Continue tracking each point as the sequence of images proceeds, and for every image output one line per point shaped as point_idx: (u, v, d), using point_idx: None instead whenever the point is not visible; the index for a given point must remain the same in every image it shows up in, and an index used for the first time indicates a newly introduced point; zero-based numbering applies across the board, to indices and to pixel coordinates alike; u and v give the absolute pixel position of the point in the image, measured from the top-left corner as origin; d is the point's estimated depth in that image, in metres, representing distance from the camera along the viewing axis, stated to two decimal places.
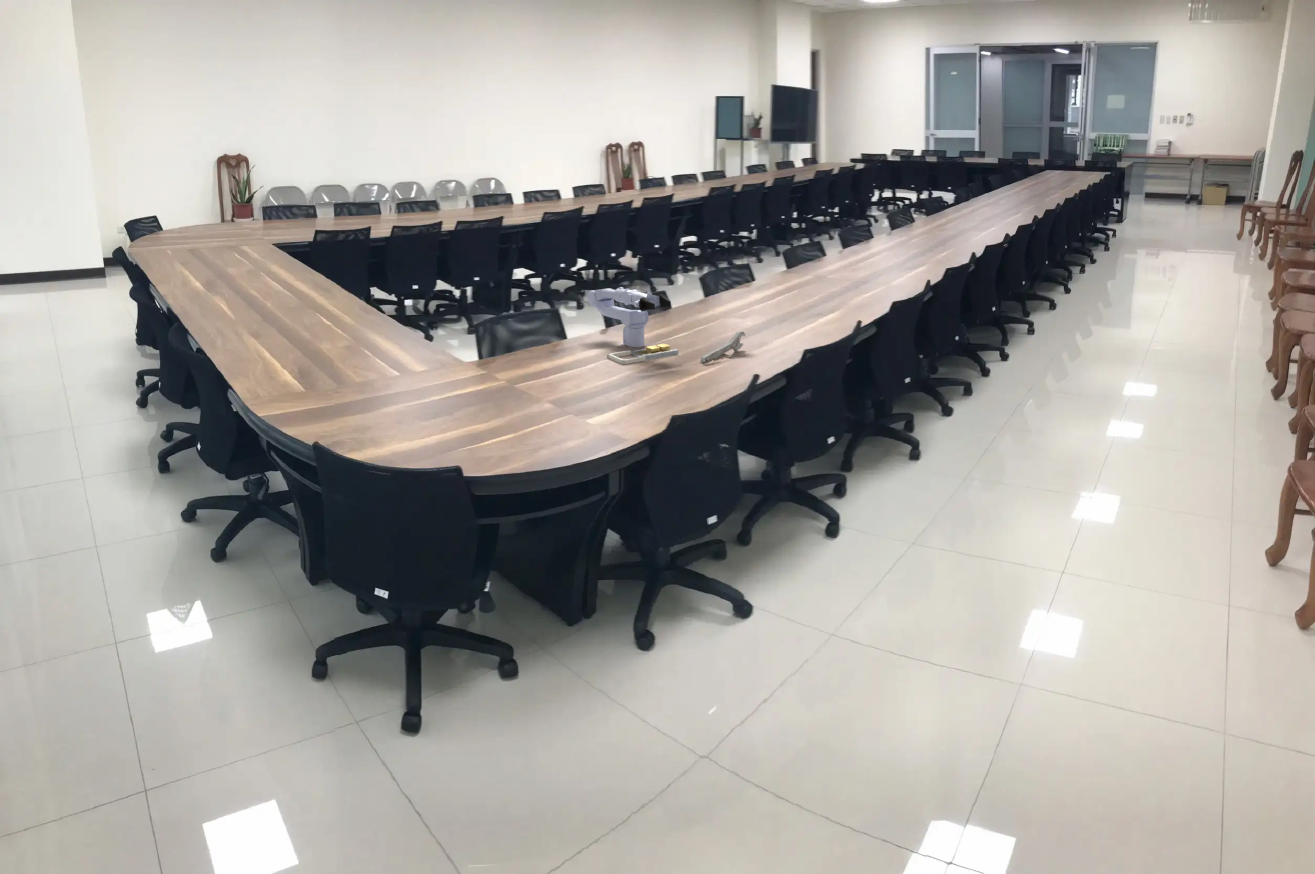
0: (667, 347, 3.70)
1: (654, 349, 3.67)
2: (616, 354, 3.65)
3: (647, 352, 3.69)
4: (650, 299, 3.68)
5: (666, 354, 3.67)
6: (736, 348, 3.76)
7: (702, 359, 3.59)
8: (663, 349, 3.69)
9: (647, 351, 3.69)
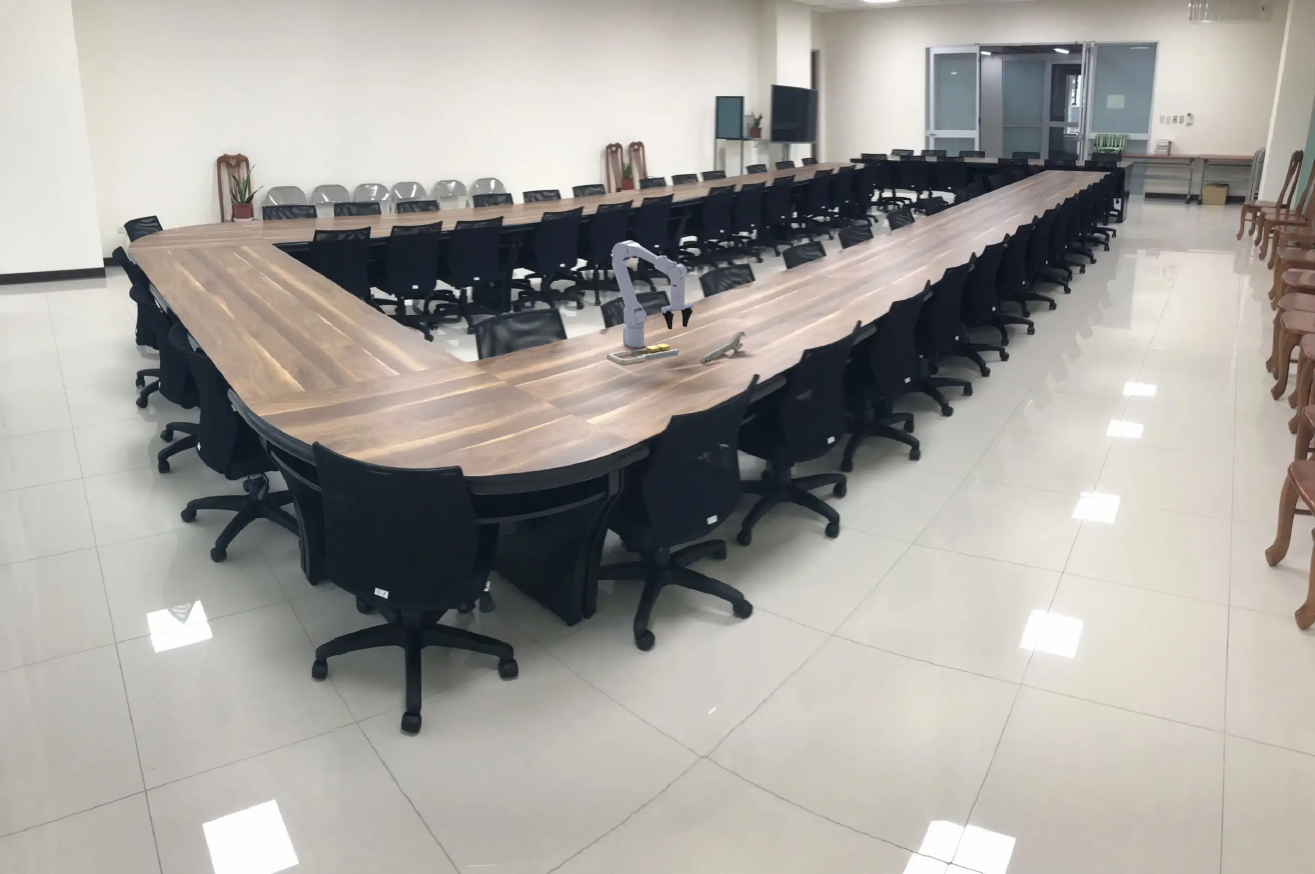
0: (667, 347, 3.70)
1: (654, 349, 3.67)
2: (616, 354, 3.65)
3: (647, 352, 3.69)
4: None
5: (666, 354, 3.67)
6: (736, 348, 3.76)
7: (702, 359, 3.59)
8: (663, 349, 3.69)
9: (647, 351, 3.69)
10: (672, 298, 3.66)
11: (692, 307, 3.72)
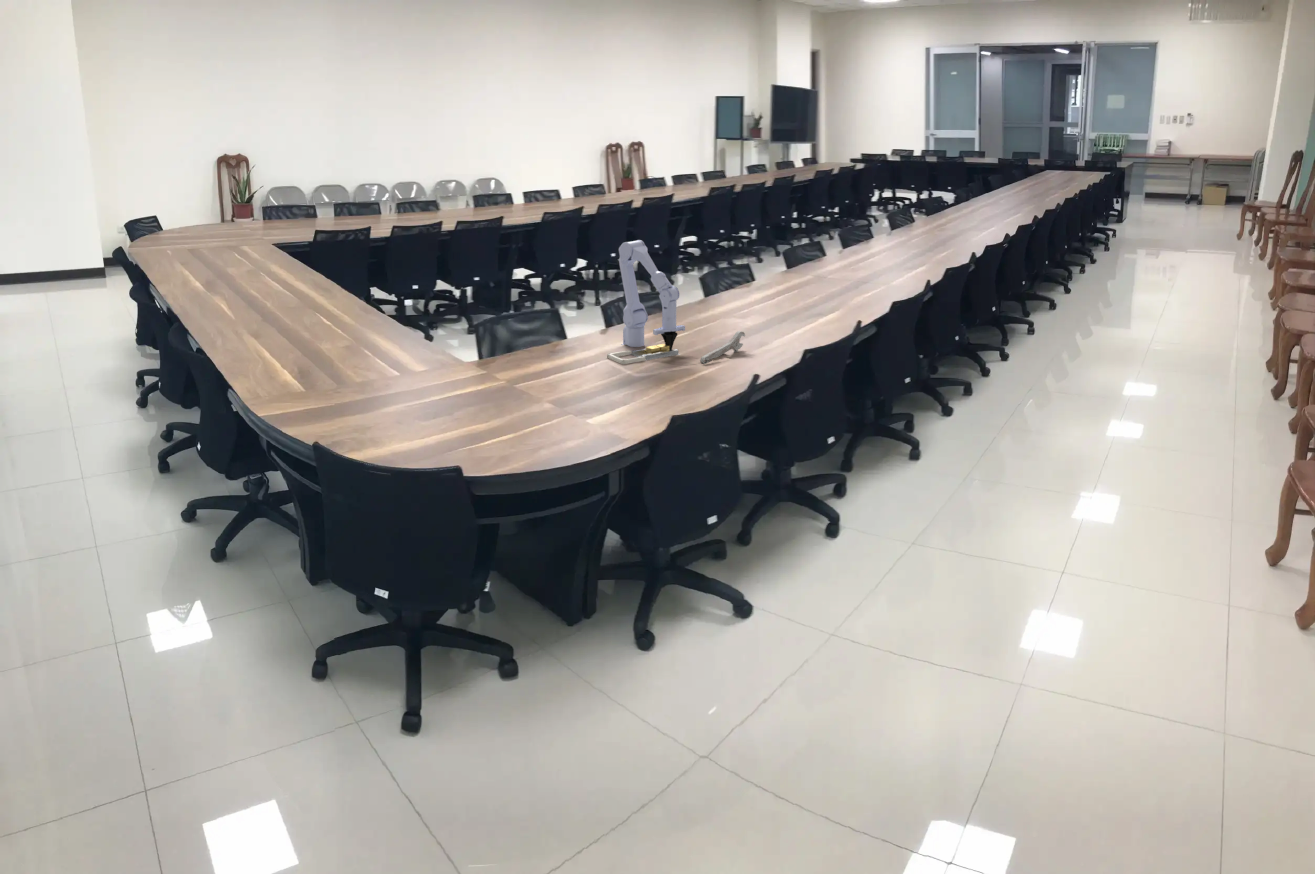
0: (666, 347, 3.70)
1: (654, 349, 3.67)
2: (616, 354, 3.65)
3: (647, 352, 3.69)
4: None
5: (666, 354, 3.67)
6: (736, 348, 3.76)
7: (702, 359, 3.59)
8: (662, 349, 3.69)
9: (647, 351, 3.69)
10: (664, 320, 3.67)
11: (684, 329, 3.73)
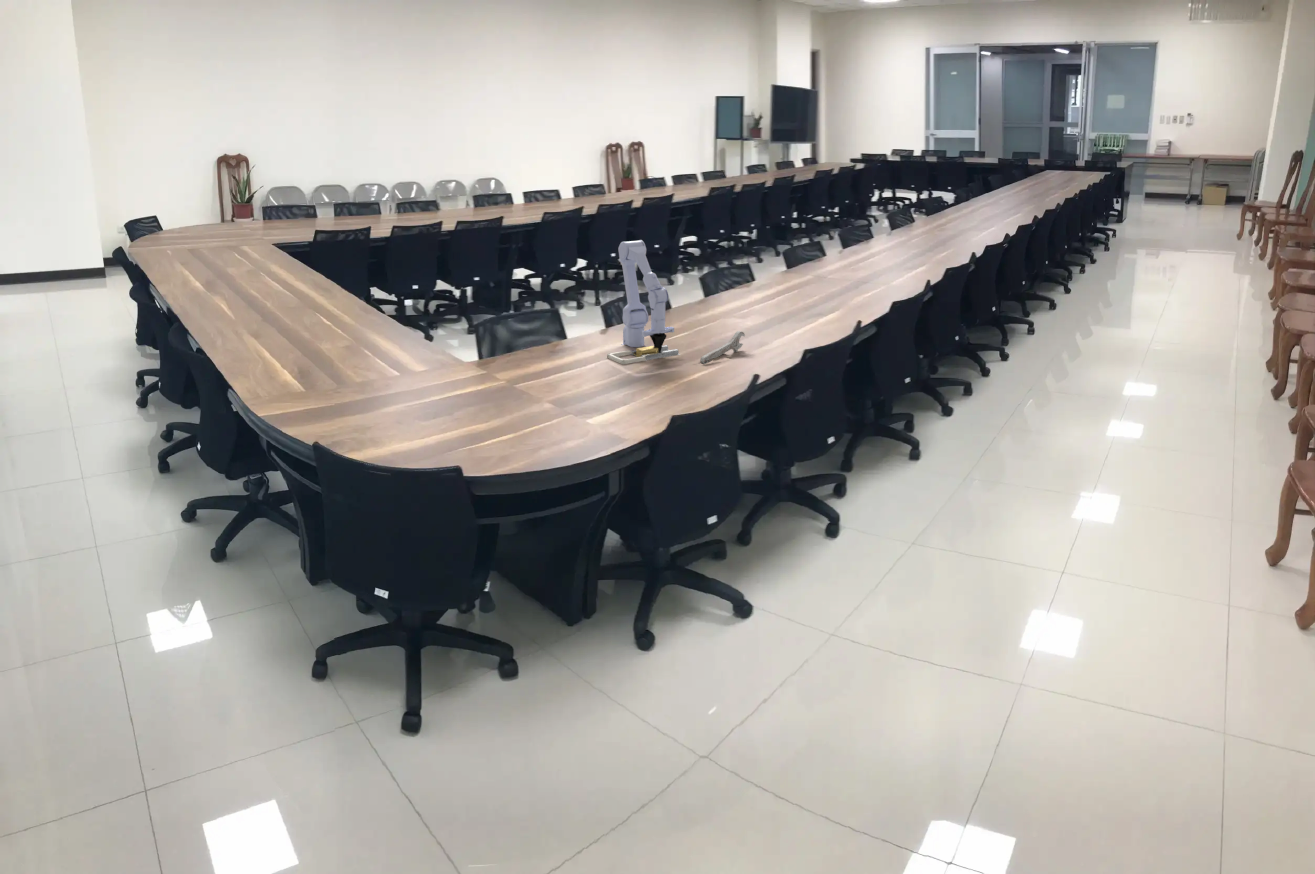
0: (655, 349, 3.67)
1: (644, 351, 3.64)
2: (616, 354, 3.65)
3: (637, 354, 3.66)
4: None
5: (666, 354, 3.67)
6: (736, 348, 3.76)
7: (702, 359, 3.59)
8: (651, 351, 3.66)
9: (637, 353, 3.66)
10: (652, 322, 3.64)
11: (673, 331, 3.70)
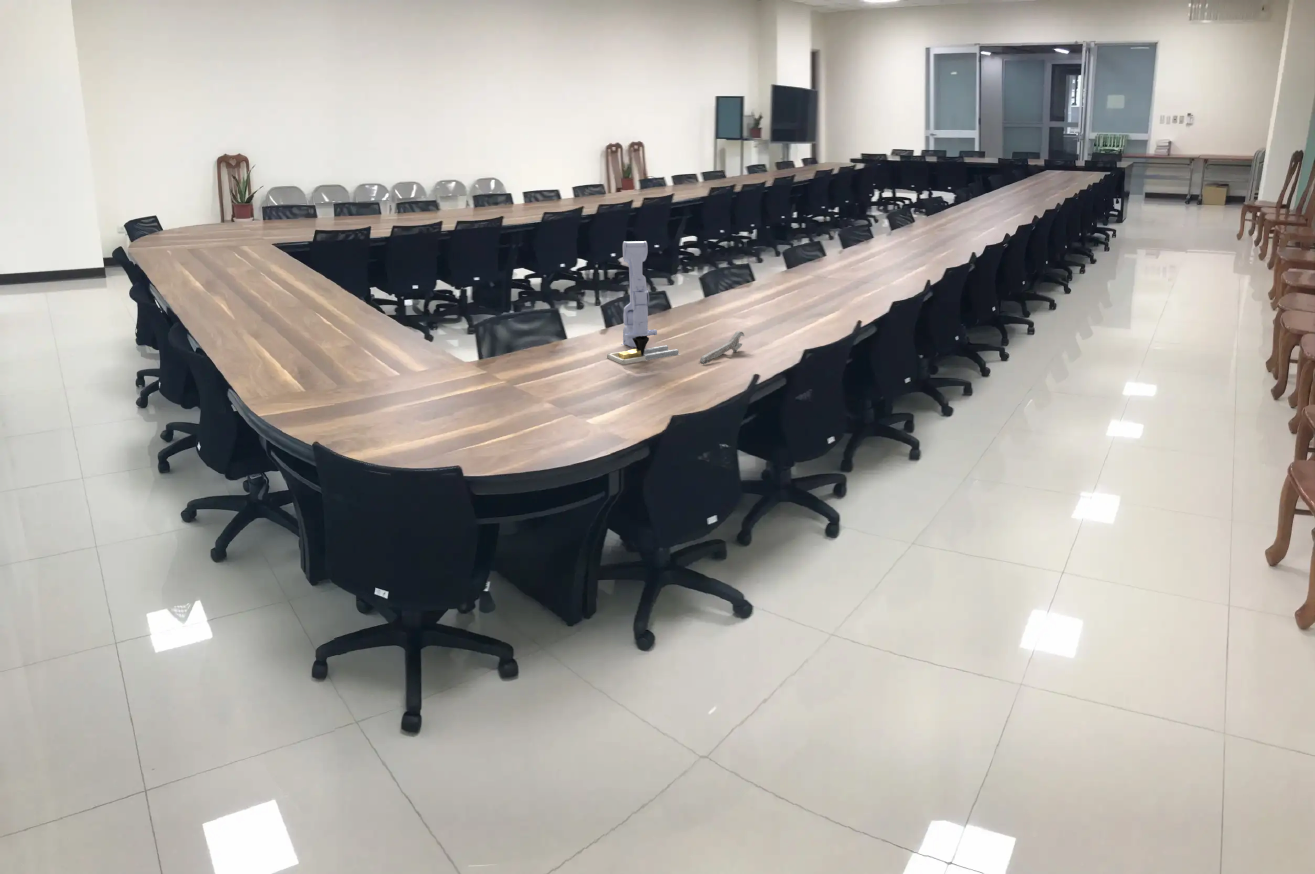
0: (638, 352, 3.63)
1: (626, 355, 3.60)
2: (616, 354, 3.65)
3: None
4: None
5: (666, 354, 3.67)
6: (735, 348, 3.76)
7: (702, 359, 3.59)
8: (634, 355, 3.62)
9: (619, 357, 3.62)
10: (635, 325, 3.60)
11: (656, 333, 3.66)
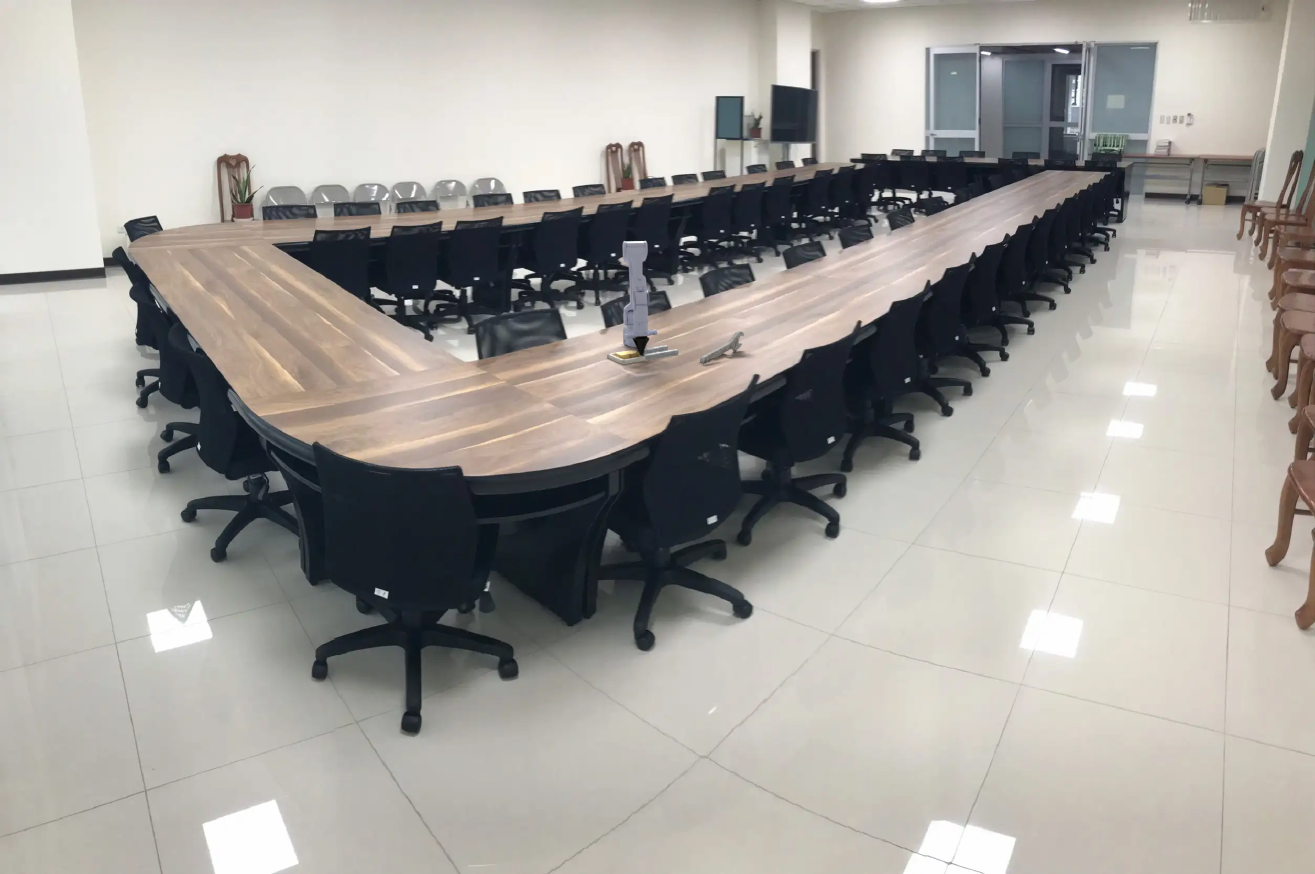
0: (636, 353, 3.62)
1: (624, 355, 3.59)
2: None
3: None
4: None
5: (666, 354, 3.67)
6: (735, 348, 3.76)
7: (701, 359, 3.59)
8: (632, 355, 3.61)
9: None
10: (635, 325, 3.60)
11: (656, 333, 3.66)
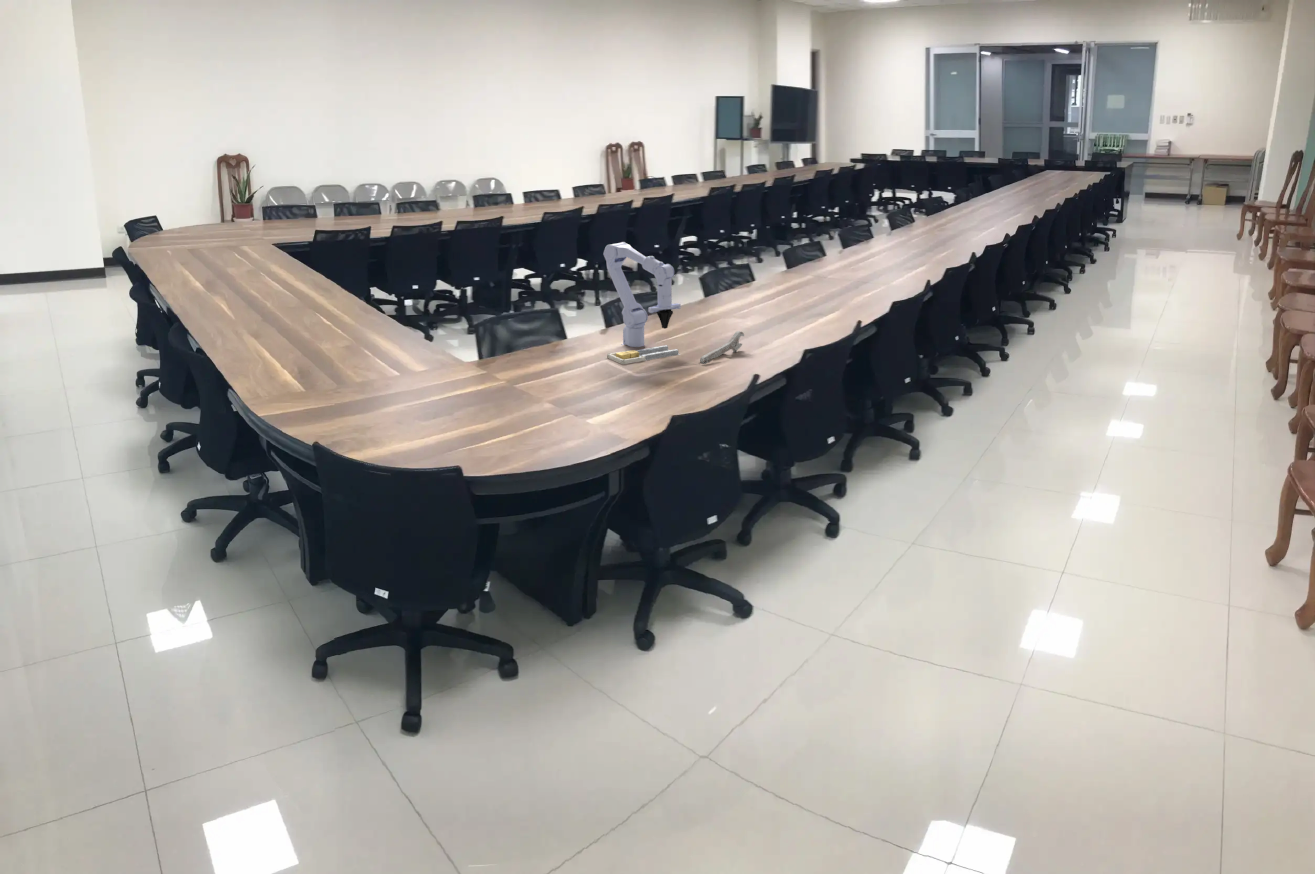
0: (636, 353, 3.62)
1: (624, 355, 3.59)
2: None
3: None
4: None
5: (666, 354, 3.67)
6: (735, 348, 3.75)
7: (701, 359, 3.59)
8: (632, 355, 3.61)
9: None
10: (659, 298, 3.66)
11: (679, 307, 3.72)
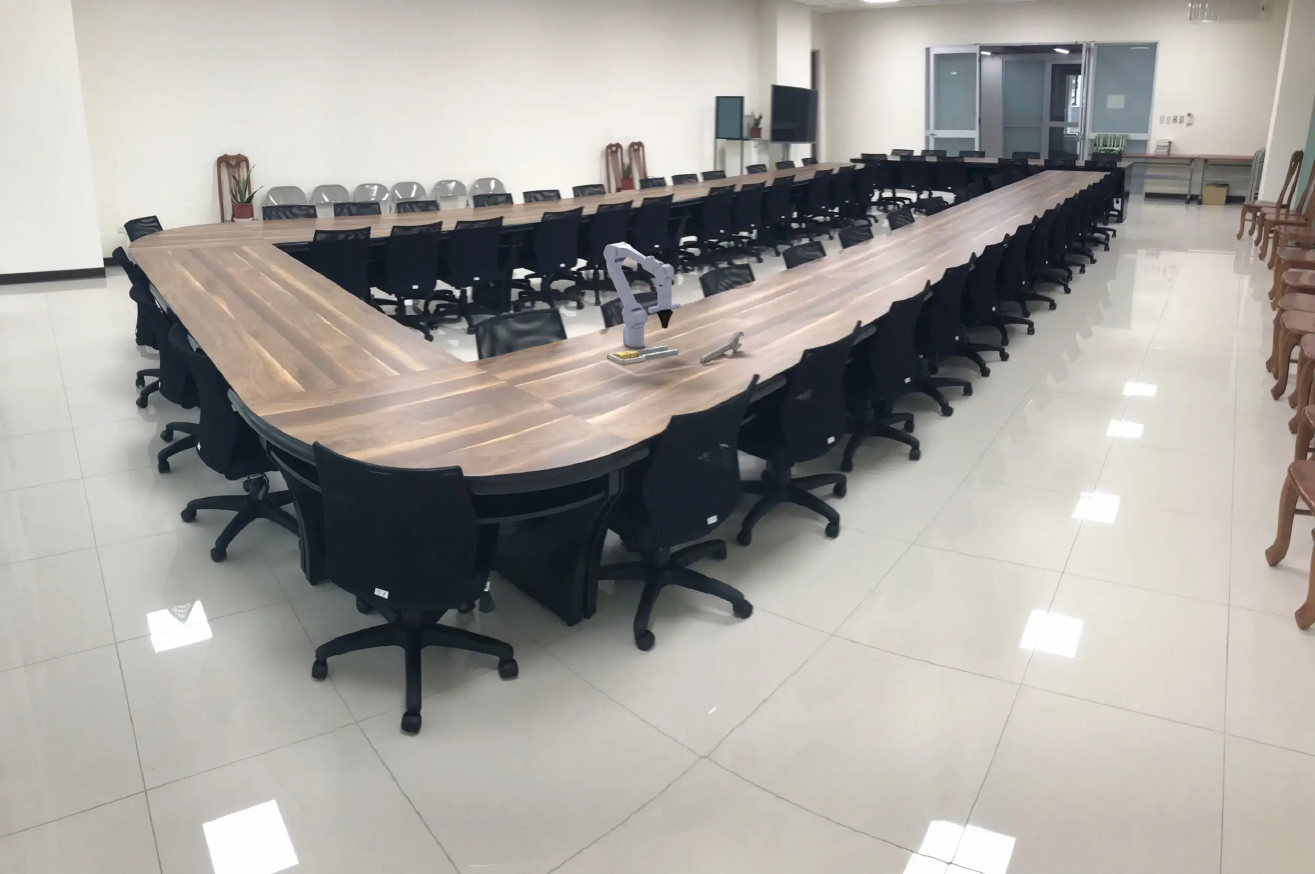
0: (636, 353, 3.62)
1: (624, 355, 3.59)
2: None
3: None
4: None
5: (666, 354, 3.67)
6: (735, 348, 3.75)
7: (701, 359, 3.59)
8: (632, 355, 3.61)
9: None
10: (659, 298, 3.66)
11: (679, 307, 3.72)
